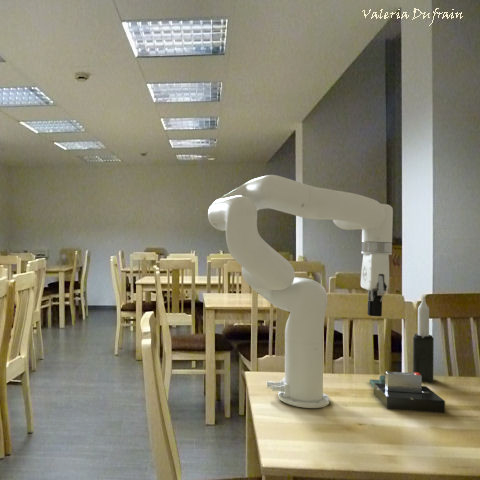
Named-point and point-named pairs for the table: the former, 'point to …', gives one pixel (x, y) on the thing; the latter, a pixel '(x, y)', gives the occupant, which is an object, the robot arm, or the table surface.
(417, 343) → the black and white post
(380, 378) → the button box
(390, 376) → the grey rectangular block
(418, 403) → the panel
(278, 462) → the table surface
